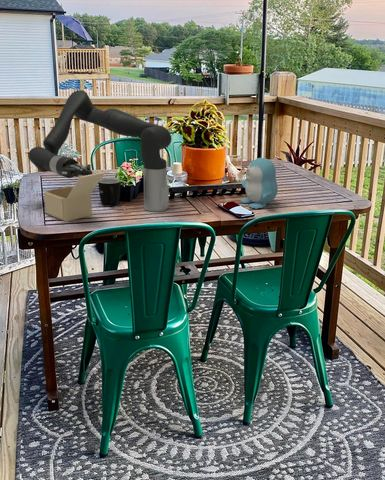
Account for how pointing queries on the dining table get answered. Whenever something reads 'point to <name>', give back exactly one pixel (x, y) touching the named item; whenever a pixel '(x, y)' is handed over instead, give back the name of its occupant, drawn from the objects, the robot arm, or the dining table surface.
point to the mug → (109, 191)
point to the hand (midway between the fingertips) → (90, 174)
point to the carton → (67, 204)
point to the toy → (260, 183)
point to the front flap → (85, 185)
